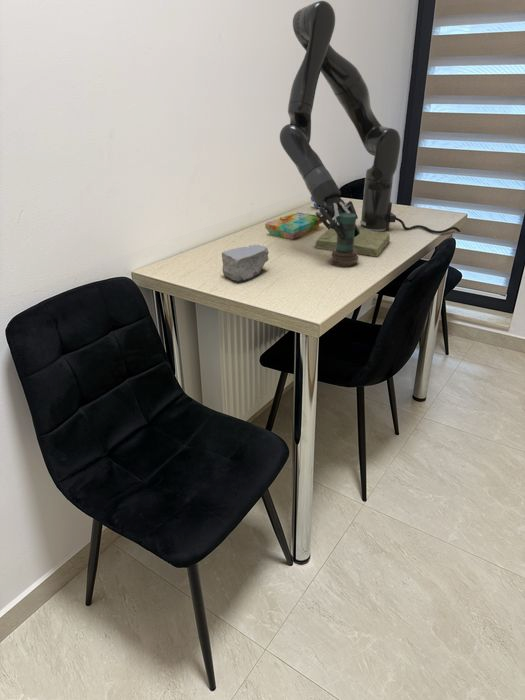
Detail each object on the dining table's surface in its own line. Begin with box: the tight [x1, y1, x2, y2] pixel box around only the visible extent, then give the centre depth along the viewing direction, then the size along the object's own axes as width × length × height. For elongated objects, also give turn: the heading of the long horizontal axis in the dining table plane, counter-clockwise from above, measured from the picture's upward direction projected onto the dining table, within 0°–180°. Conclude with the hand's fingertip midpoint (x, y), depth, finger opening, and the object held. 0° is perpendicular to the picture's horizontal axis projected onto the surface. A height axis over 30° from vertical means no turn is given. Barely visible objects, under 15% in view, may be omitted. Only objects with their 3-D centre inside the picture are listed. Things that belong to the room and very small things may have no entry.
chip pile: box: [329, 247, 359, 268], centre depth 150 cm, size 8×8×4 cm
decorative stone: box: [221, 244, 269, 283], centre depth 141 cm, size 15×7×10 cm
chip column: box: [336, 213, 357, 252], centre depth 147 cm, size 5×5×10 cm
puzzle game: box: [264, 211, 323, 240], centre depth 179 cm, size 12×5×20 cm
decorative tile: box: [315, 226, 391, 257], centre depth 166 cm, size 19×20×4 cm
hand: (351, 236), depth 146 cm, fingers closed on chip column, 4 cm apart
